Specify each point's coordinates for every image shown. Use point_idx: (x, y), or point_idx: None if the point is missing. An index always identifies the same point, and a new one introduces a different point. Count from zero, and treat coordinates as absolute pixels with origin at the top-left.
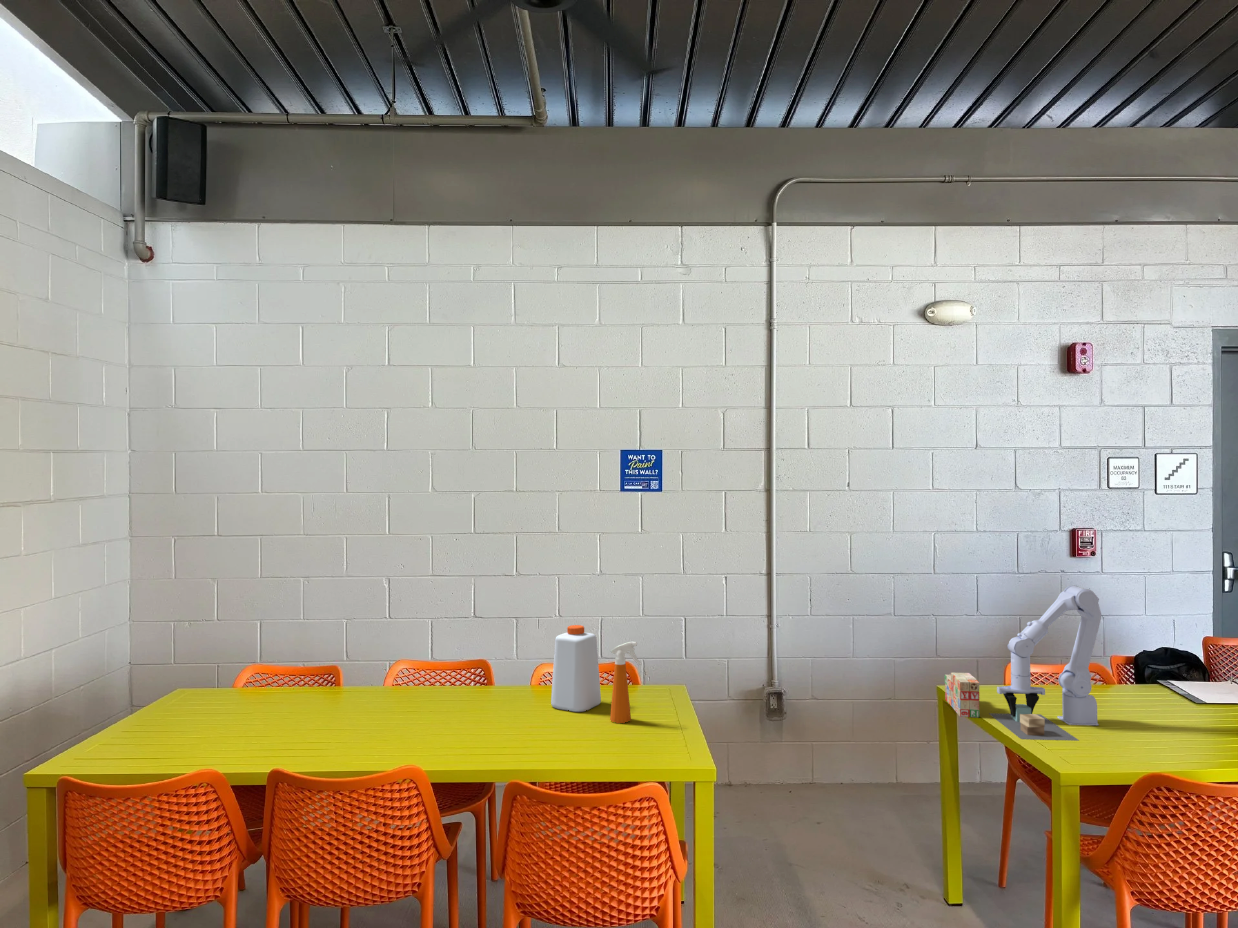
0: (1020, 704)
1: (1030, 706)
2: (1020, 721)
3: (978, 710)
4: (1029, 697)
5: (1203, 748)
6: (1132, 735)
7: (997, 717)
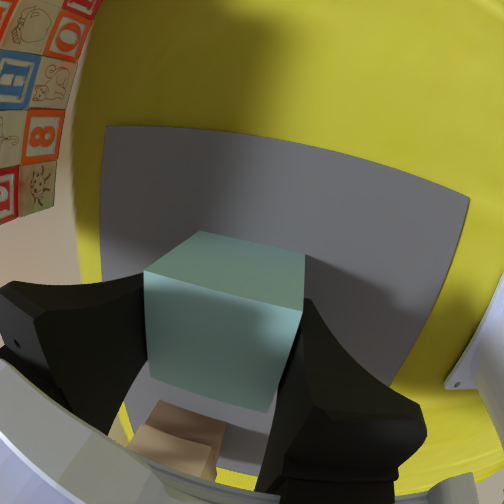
0: (237, 307)
1: (276, 406)
2: (140, 429)
3: (21, 214)
4: (267, 469)
5: (494, 466)
6: (488, 439)
7: (117, 216)
